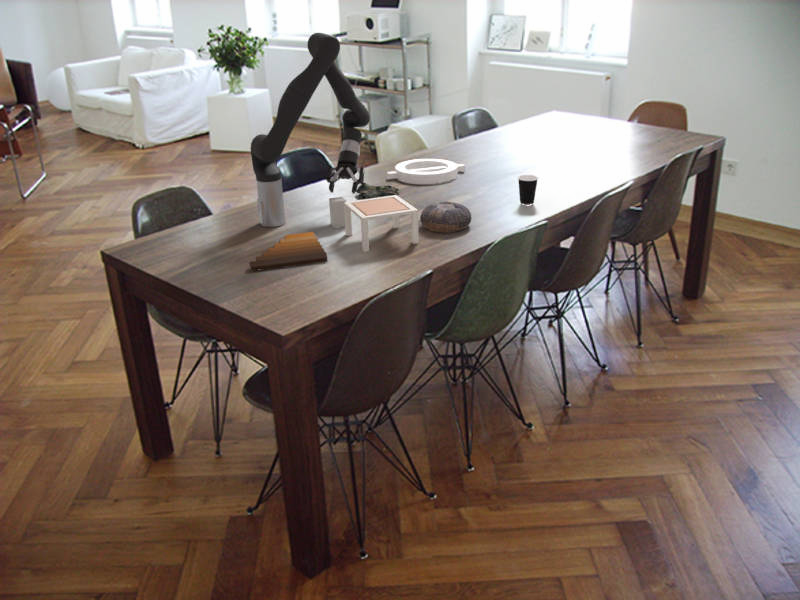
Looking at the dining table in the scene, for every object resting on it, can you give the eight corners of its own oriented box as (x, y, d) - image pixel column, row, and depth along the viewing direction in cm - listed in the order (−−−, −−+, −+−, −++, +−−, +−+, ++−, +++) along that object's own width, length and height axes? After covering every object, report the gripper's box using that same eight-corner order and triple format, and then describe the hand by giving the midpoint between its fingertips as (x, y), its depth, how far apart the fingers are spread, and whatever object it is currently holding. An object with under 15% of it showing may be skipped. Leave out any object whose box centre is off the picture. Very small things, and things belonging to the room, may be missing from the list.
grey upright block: (334, 228, 287) (333, 202, 283) (330, 224, 291) (329, 198, 287) (347, 226, 289) (346, 200, 284) (343, 222, 293) (341, 196, 289)
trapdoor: (367, 218, 261) (367, 215, 261) (353, 205, 274) (352, 203, 274) (408, 212, 266) (408, 209, 266) (392, 200, 279) (392, 197, 279)
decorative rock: (384, 177, 335) (408, 181, 324) (385, 191, 337) (408, 196, 326) (350, 183, 323) (373, 188, 312) (350, 198, 325) (373, 203, 314)
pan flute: (251, 273, 250) (327, 263, 256) (250, 263, 248) (327, 253, 255) (242, 248, 271) (312, 239, 278) (241, 238, 270) (312, 230, 277)
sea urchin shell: (482, 224, 285) (480, 199, 280) (448, 245, 275) (445, 220, 270) (445, 212, 297) (442, 189, 292) (411, 233, 287) (407, 208, 282)
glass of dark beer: (541, 205, 306) (542, 177, 301) (526, 208, 302) (527, 181, 297) (527, 200, 312) (528, 173, 307) (512, 204, 308) (513, 177, 303)
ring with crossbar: (467, 172, 356) (467, 161, 354) (441, 187, 333) (441, 177, 331) (412, 166, 368) (412, 156, 366) (384, 181, 345) (384, 170, 343)
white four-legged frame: (364, 251, 263) (362, 218, 258) (345, 234, 280) (343, 202, 275) (418, 243, 270) (417, 209, 265) (397, 226, 287) (396, 194, 282)
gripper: (328, 148, 294) (321, 186, 289) (365, 149, 291) (358, 188, 286) (333, 159, 301) (326, 196, 296) (369, 160, 298) (362, 197, 293)
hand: (342, 192), depth 291 cm, fingers open, 8 cm apart
